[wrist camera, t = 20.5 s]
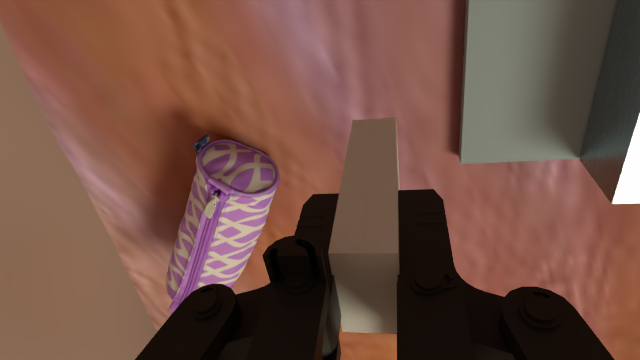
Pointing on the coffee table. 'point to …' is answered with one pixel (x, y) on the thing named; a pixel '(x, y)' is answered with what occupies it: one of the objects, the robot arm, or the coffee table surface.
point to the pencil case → (221, 216)
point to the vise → (530, 77)
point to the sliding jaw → (617, 111)
